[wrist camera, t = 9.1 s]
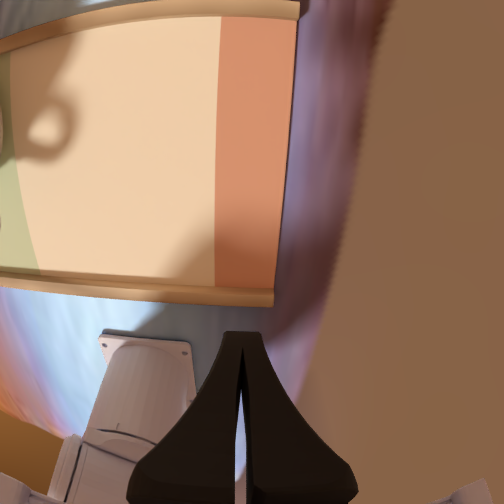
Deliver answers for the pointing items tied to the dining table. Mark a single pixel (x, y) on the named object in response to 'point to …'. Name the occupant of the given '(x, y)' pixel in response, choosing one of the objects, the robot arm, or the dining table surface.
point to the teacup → (1, 140)
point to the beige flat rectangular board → (148, 151)
